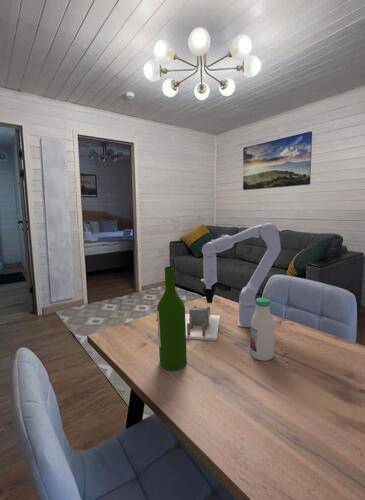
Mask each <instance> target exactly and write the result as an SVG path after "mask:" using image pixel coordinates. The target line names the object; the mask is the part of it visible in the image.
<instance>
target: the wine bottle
mask: <svg viewBox="0 0 365 500" xmlns="http://www.w3.org/2000/svg"><path fill="white" fill-rule="evenodd" d="M175 276H176V275H175V267H174V266H165V267H164V289H165V290H164V293H163V295H162V296H161V298H160V300H159V302H158V303H157V308H156V317H157V332H158V350H159V351H158V352H159V354H158V355H159V365H160V367H161V368H162V369H163V370H165V371H169V372H170V371H171V372H172V371H173V372H175V371H180V370H182V369H183V368H185V367H186V366H187V363H188V359H187V357H188V356H187V339H186V323H185V314H186V306H185V303H184V301H183V300H182V298H181V297H180V296H179V294H178V293H177V291H176V278H175Z"/></svg>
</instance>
